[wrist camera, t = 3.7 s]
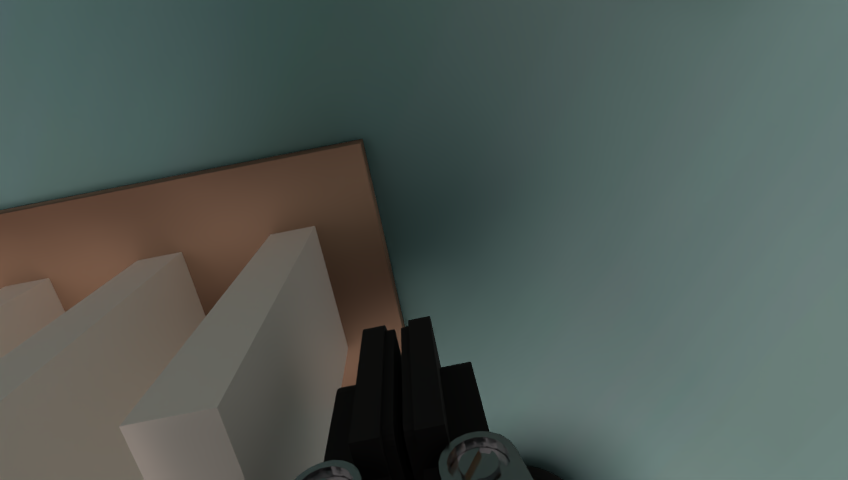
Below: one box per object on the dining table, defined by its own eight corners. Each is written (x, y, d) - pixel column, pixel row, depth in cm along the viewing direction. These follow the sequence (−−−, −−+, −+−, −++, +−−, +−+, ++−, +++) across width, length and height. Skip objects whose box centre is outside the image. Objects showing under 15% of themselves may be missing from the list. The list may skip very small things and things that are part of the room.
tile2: (185, 379, 19) (-25, 683, 9) (137, 260, 17) (-174, 482, 8) (226, 371, 19) (56, 667, 9) (181, 251, 17) (-77, 464, 8)
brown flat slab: (-341, 277, 18) (-391, 291, 17) (362, 139, 18) (360, 143, 16) (-181, 488, 21) (-214, 512, 20) (415, 373, 21) (416, 391, 20)
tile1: (307, 355, 19) (218, 636, 9) (270, 234, 17) (119, 426, 8) (348, 347, 19) (300, 621, 9) (314, 225, 17) (216, 407, 8)
